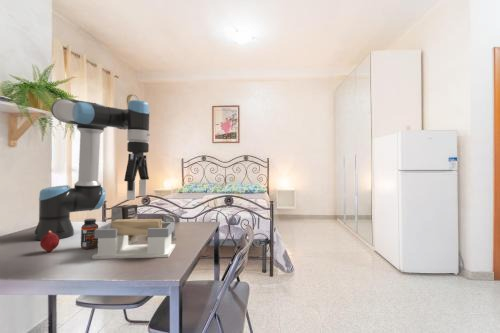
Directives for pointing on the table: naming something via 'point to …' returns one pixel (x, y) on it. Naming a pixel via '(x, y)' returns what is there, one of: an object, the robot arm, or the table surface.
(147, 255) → the bracket stand
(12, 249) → the table surface
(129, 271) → the table surface
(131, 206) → the coffee box
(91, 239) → the supplement bottle
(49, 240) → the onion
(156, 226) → the rail
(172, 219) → the handheld gaming console
